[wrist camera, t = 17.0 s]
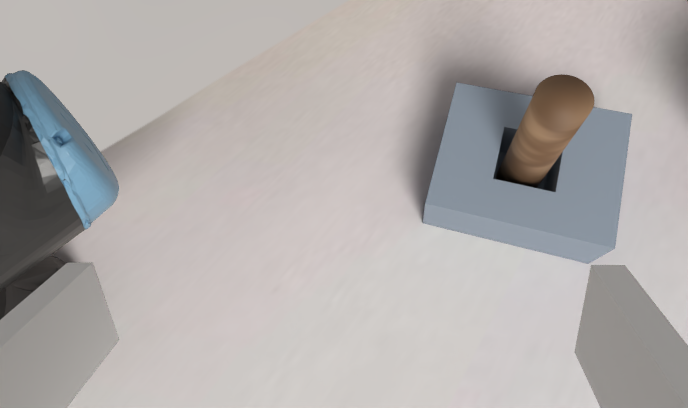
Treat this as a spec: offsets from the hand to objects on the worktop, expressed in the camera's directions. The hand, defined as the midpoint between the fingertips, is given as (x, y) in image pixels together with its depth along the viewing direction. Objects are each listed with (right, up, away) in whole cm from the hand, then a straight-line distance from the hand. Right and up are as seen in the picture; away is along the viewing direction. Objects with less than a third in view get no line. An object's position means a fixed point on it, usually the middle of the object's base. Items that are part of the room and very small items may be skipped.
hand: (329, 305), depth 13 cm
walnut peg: (+18, +5, +34) cm, 39 cm away
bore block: (+18, +5, +35) cm, 40 cm away
